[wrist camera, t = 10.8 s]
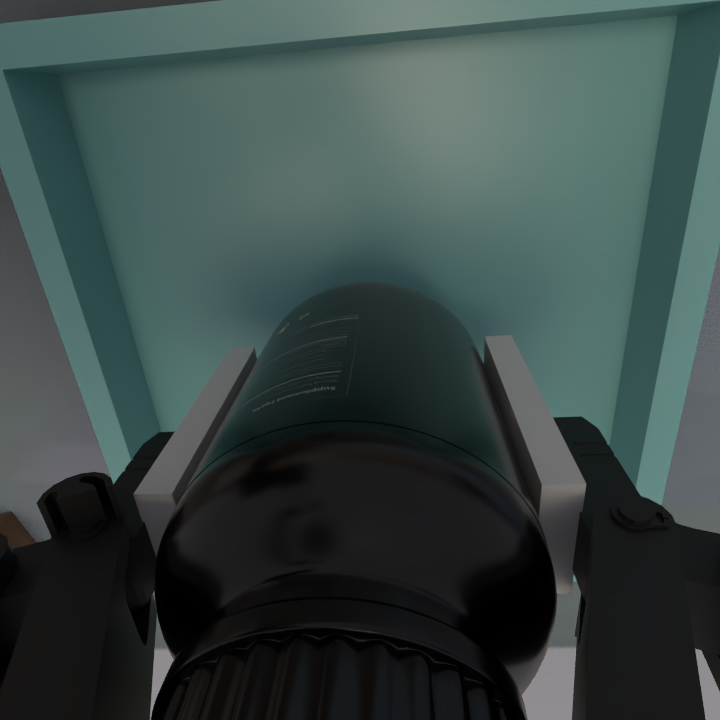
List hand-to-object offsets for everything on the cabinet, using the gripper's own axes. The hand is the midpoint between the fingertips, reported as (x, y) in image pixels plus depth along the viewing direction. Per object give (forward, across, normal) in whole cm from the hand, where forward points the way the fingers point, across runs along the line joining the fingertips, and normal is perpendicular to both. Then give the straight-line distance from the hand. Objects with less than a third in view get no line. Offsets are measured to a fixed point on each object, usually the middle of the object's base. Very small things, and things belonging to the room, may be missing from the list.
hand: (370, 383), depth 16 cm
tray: (+5, 0, 0) cm, 5 cm away
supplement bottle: (+1, 0, 0) cm, 1 cm away
